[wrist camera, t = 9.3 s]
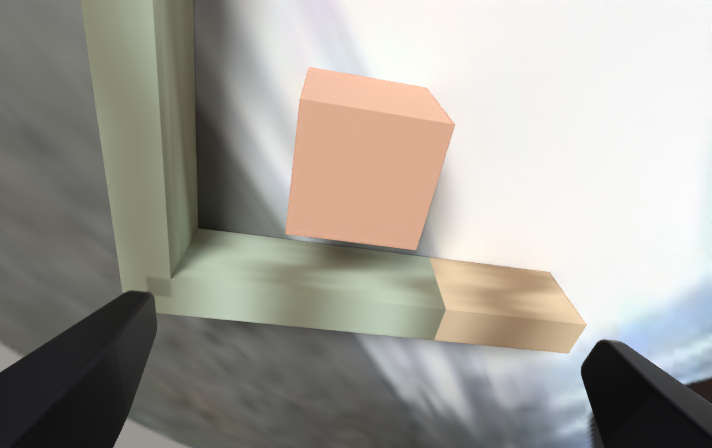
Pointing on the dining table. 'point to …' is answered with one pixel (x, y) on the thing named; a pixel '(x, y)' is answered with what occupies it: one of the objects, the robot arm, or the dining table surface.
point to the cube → (365, 159)
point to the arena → (266, 254)
